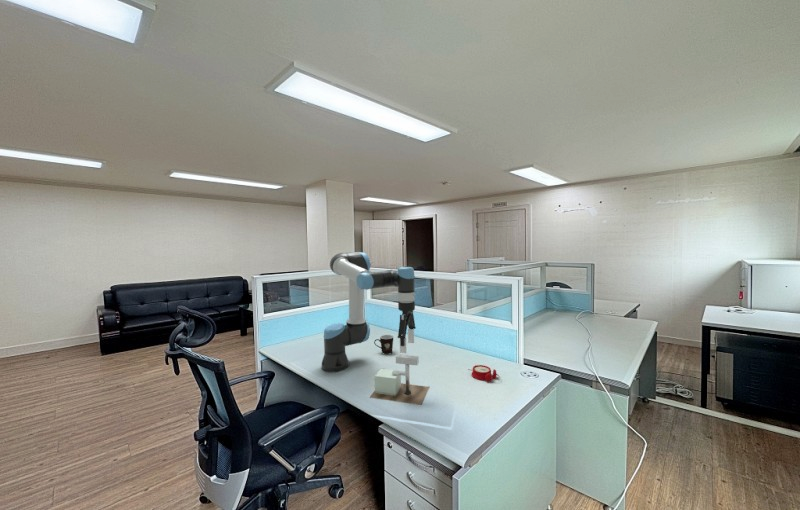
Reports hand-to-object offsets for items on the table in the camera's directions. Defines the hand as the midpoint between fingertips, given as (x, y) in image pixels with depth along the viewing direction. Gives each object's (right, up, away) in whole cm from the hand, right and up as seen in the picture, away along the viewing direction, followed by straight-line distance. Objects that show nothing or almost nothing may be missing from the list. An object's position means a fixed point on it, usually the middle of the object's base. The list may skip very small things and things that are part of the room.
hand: (407, 347), depth 138 cm
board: (-3, -22, +2) cm, 23 cm away
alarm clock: (+40, -21, +18) cm, 49 cm away
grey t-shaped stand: (-1, -20, +1) cm, 20 cm away
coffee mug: (-13, -20, +56) cm, 61 cm away
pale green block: (-9, -21, +4) cm, 23 cm away
